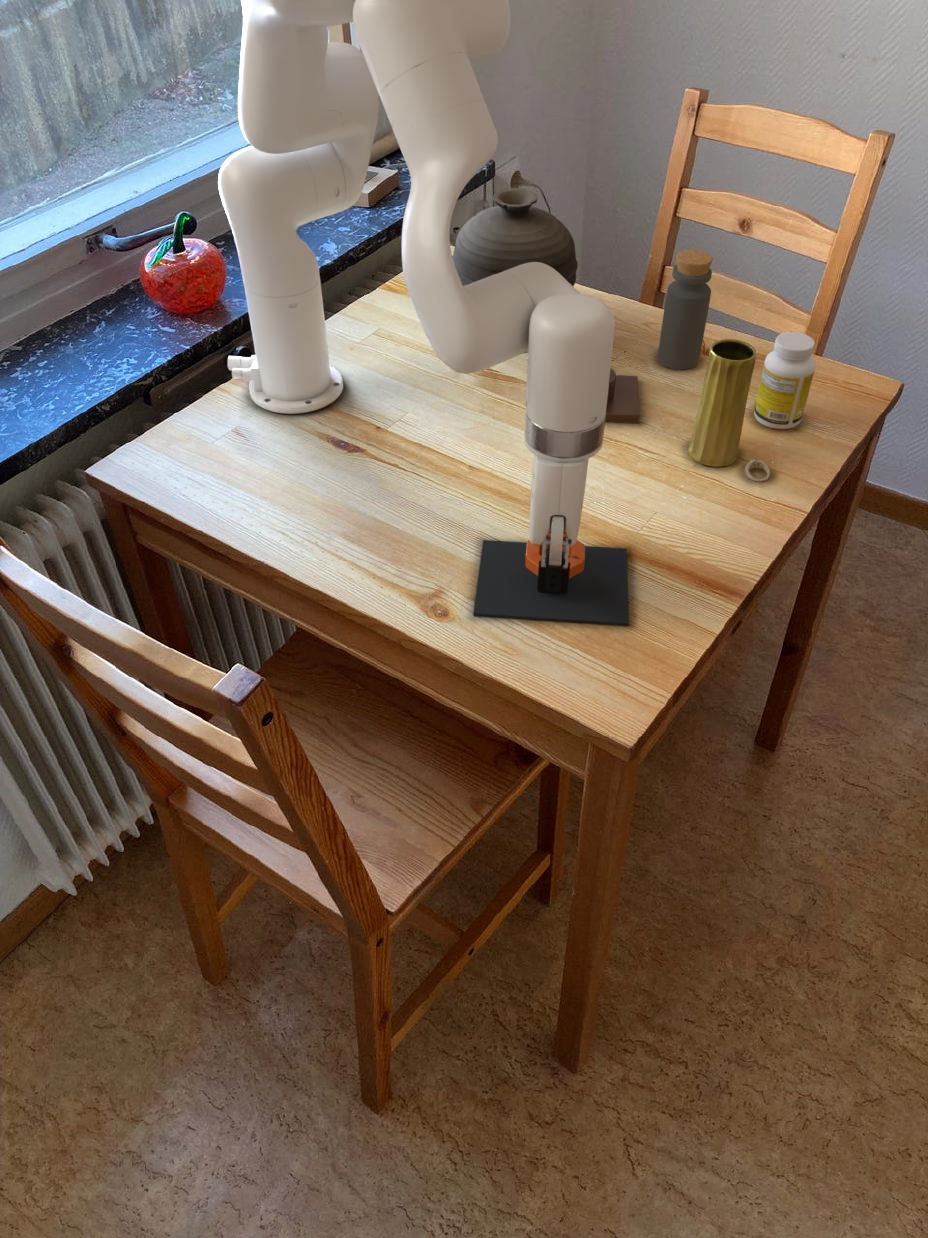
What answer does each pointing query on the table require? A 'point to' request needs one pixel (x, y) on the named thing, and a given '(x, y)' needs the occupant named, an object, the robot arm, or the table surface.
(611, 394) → the stand
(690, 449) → the vase
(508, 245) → the pot
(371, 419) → the table surface
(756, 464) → the ring
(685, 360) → the bottle
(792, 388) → the pill bottle
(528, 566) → the orange ring
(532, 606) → the mat
